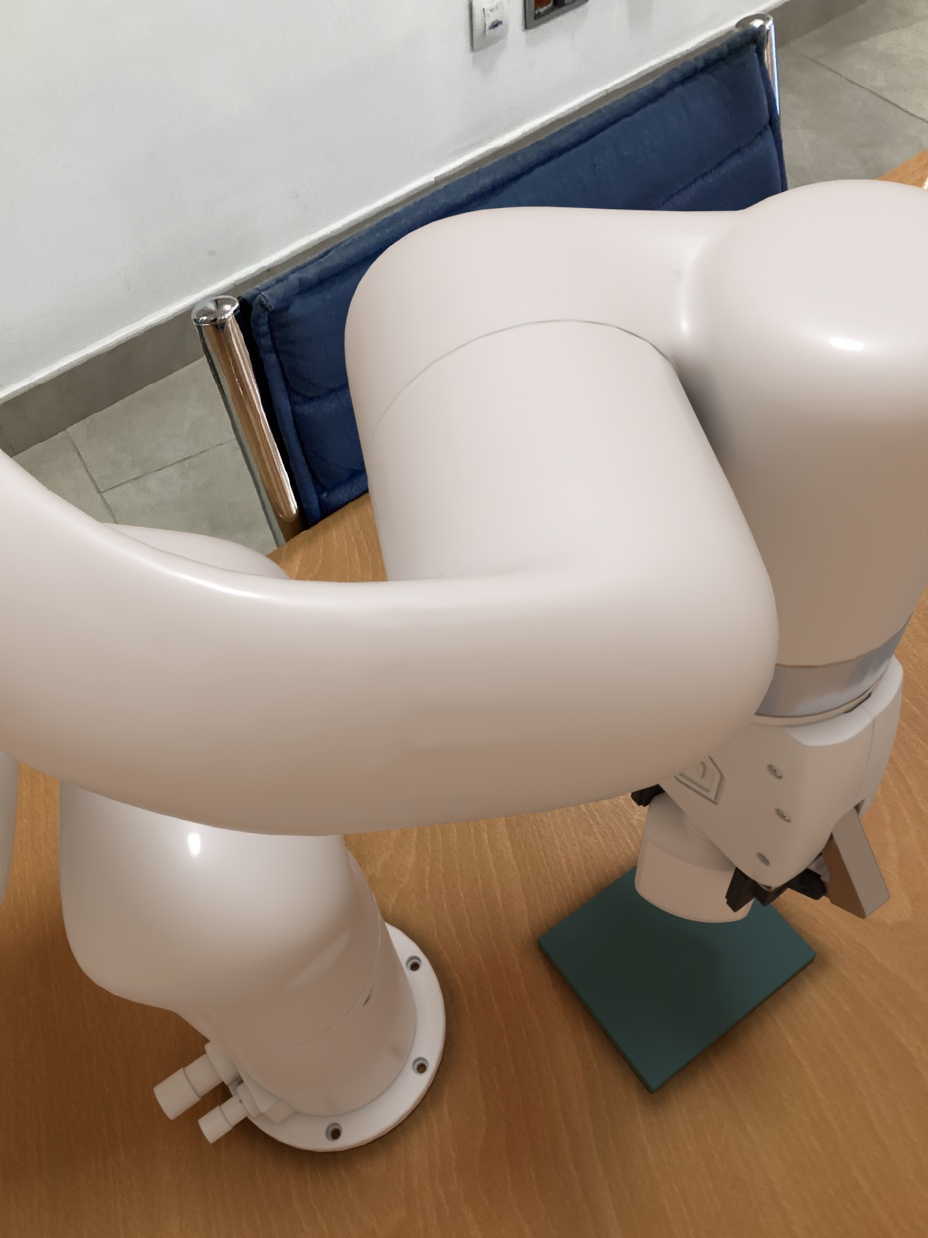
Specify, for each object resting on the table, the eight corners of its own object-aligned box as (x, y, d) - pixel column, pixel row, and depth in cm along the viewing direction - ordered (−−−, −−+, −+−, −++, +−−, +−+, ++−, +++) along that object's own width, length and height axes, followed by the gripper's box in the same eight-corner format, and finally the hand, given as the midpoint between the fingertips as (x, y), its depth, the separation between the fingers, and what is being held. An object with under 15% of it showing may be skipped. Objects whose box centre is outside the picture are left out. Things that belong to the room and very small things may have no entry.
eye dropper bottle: (709, 959, 50) (746, 864, 41) (619, 880, 53) (634, 772, 43) (766, 895, 52) (814, 788, 42) (675, 821, 55) (701, 704, 45)
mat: (651, 1094, 56) (653, 1090, 56) (537, 944, 61) (536, 939, 61) (814, 959, 60) (817, 954, 59) (692, 827, 65) (694, 821, 64)
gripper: (508, 490, 35) (523, 745, 50) (911, 884, 27) (786, 1051, 42) (677, 389, 38) (643, 663, 52) (1101, 725, 29) (917, 938, 44)
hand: (707, 833), depth 47 cm, fingers closed on eye dropper bottle, 5 cm apart
